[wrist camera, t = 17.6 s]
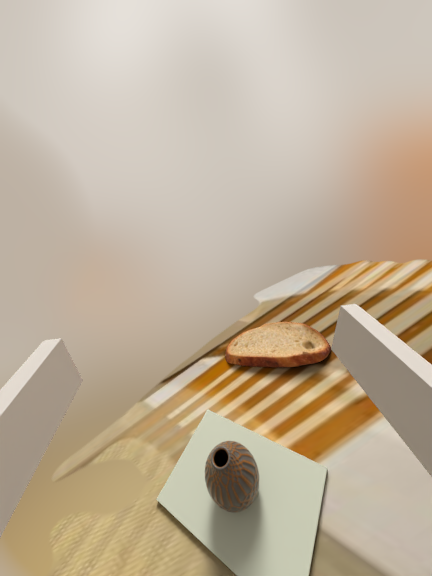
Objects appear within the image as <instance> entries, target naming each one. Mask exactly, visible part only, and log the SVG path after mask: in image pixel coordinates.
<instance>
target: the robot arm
mask: <svg viewBox="0 0 432 576" xmlns="http://www.w3.org/2000/svg"><path fill="white" fill-rule="evenodd" d="M331 349H332V350H333V352H334V353H335V354H336V356H337V357H338V358H339V359H340V361H341V362H342V363H343V364H344V366H345V367H346V368H347V370H348V371H349V372H350V373H351V375H352V376H353V377H354V378H355V380H356V381H357V382H358V384H359V385H360V386H361V387H362V389H363V390H364V391H365V392H366V394H367V395H368V396H369V398H370V399H371V400H372V401H373V403H374V404H375V405H376V406H377V408H378V409H379V410H380V412H381V413H382V414H383V415H384V417H385V418H386V419H387V420H388V422H389V423H390V424H391V426H392V427H393V428H394V429H395V431H396V432H397V433H398V434H399V436H400V437H401V438H402V439H403V441H404V442H405V443H406V445H407V446H408V447H409V448H410V450H411V451H412V452H413V453H414V455H415V456H416V457H417V459H418V460H419V461H420V462H421V464H422V465H423V466H424V467H425V469H426V470H427V471H428V473H429V474H430V475H431V476H432V365H431V364H430V363H429V362H427V361H426V360H425V359H424V358H423V357H421V356H420V355H419V354H418V353H416V352H415V351H414V350H413V349H411V348H410V347H409V346H408V345H406V344H405V343H404V342H403V341H401V340H400V339H399V338H398V337H396V336H395V335H394V334H393V333H391V332H390V331H389V330H388V329H387V328H385V327H384V326H383V325H382V324H380V323H379V322H378V321H377V320H375V319H374V318H373V317H372V316H370V315H369V314H368V313H367V312H365V311H364V310H363V309H362V308H360V307H359V306H358V305H357V304H352V305H344V306H341V308H340V312H339V317H338V321H337V326H336V330H335V335H334V339H333V344H332V348H331ZM81 383H82V378H81V376H80V374H79V372H78V370H77V368H76V366H75V364H74V362H73V360H72V358H71V357H70V354H69V353H68V351H67V349H66V347H65V345H64V343H63V341H62V339H53V340H44V341H43V342H42V343H41V344H40V346H39V347H38V348H37V349H36V350H35V351H34V353H33V354H32V355H31V356H30V357H29V358H28V359H27V360H26V362H25V363H24V364H23V365H22V366H21V367H20V368H19V369H18V371H17V372H16V373H15V374H14V375H13V376H12V378H11V379H10V380H9V381H8V382H7V383H6V384H5V385H4V387H3V388H2V389H1V390H0V537H1V535H2V533H3V531H4V529H5V527H6V525H7V523H8V522H9V520H10V518H11V516H12V514H13V512H14V510H15V508H16V506H17V504H18V503H19V501H20V498H21V497H22V495H23V493H24V491H25V489H26V487H27V486H28V484H29V482H30V480H31V478H32V476H33V474H34V472H35V470H36V468H37V466H38V465H39V463H40V461H41V459H42V457H43V455H44V453H45V451H46V449H47V447H48V446H49V444H50V442H51V440H52V438H53V436H54V434H55V432H56V430H57V428H58V426H59V425H60V423H61V421H62V419H63V417H64V415H65V413H66V411H67V409H68V407H69V405H70V403H71V402H72V400H73V398H74V396H75V394H76V392H77V390H78V388H79V387H80V385H81Z"/></svg>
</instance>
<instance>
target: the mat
mask: <svg viewBox="0 0 432 576" xmlns="http://www.w3.org/2000/svg"><path fill="white" fill-rule="evenodd" d="M224 441H235V442H238V443H240V444H242V445H243V446H245V447H246V448H247V449H248V450H249V451H250V452H251V454H252V455H253V457H254V459H255V461H256V464H257V467H258V471H259V489H258V493H257V496H256V498H255V500H254V501H253V503H252V504H251V505H250V506H249V507H248V508H247V509H245V510H243V511H241V512H235V513H233V512H228V511H225V510H223V509H222V508H220V507H219V506H218V505H217V504H216V503H215V502H214V501H213V499H212V498H211V496H210V494H209V492H208V490H207V487H206V482H205V465H206V461H207V458H208V456H209V454H210V452H211V451H212V449H213V448H214V447H215V446H216V445H218V444H219V443H221V442H224ZM326 474H327V468H326V467H324V466H322V465H320V464H318V463H316V462H314V461H312V460H310V459H308V458H306V457H304V456H302V455H300V454H298V453H296V452H294V451H292V450H290V449H288V448H286V447H283V446H281V445H279V444H277V443H275V442H273V441H271V440H269V439H267V438H265V437H263V436H261V435H259V434H257V433H255V432H253V431H251V430H249V429H247V428H245V427H243V426H241V425H239V424H236V423H234V422H232V421H230V420H228V419H226V418H224V417H222V416H220V415H218V414H216V413H214V412H212V411H210V410H207V411H206V413H205V415H204V417H203V418H202V420H201V422H200V424H199V426H198V427H197V429H196V431H195V433H194V434H193V436H192V438H191V440H190V441H189V443H188V445H187V447H186V448H185V450H184V452H183V454H182V455H181V457H180V459H179V461H178V462H177V464H176V466H175V468H174V470H173V471H172V473H171V475H170V477H169V478H168V480H167V482H166V484H165V485H164V487H163V489H162V491H161V492H160V494H159V496H158V498H157V499H156V500H157V501H158V502H160V503H161V504H162V505H163V506H164V507H165V508H166V509H167V510H168V511H169V512H170V513H171V514H172V515H173V516H174V517H175V518H176V519H178V520H179V521H180V522H181V523H182V524H183V525H184V526H185V527H186V528H187V529H188V530H189V531H190V532H191V533H192V534H193V535H194V536H196V537H197V538H198V539H199V540H200V541H201V542H202V543H203V544H204V545H205V546H206V547H207V548H208V549H209V550H210V551H211V552H212V553H213V554H215V555H216V556H217V557H218V558H219V559H220V560H221V561H222V562H223V563H224V564H225V565H226V566H227V567H228V568H229V569H230V570H231V571H233V572H234V573H235V574H236V575H237V576H309V573H310V567H311V562H312V556H313V550H314V544H315V538H316V532H317V527H318V521H319V515H320V509H321V503H322V498H323V492H324V486H325V480H326Z"/></svg>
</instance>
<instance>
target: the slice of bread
mask: <svg viewBox="0 0 432 576" xmlns="http://www.w3.org/2000/svg"><path fill="white" fill-rule="evenodd" d="M330 351H331V347H330V345H329V343H328V342H327V340H326V339H325V338H324V337H323V335H321V334H320V333H319V332H318V331H317V330H315V329H313V328H311V327H310V326H308V325H305V324H302V323H292V322H277V323H270V324H265V325H263V326H261V327H259V328H255V329H252V330H249V331H246V332H244V333H242V334H241V335H239V336H238V337H236V338H234V339H233V340H232V341H231V343H230V344H229V345H228V347H227V350H226V353H225V358H226V361H227V362H228V363H230V364H236V365H241V366H250V367H255V366H257V367H297V366H300V365H306V364H313V363H317V362H320V361H322V360H324V359H325V358H326V357H327V356H328V355H329V353H330Z"/></svg>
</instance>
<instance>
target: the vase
mask: <svg viewBox="0 0 432 576" xmlns="http://www.w3.org/2000/svg"><path fill="white" fill-rule="evenodd" d="M205 482H206V487H207V490H208V492H209V494H210V496H211V498H212V499H213V501H214V502H215V503H216V504H217V505H218V506H219V507H220V508H222V509H223V510H225V511H228V512H233V513H235V512H241V511H243V510H245V509H247V508H248V507H249V506H250V505H251V504H252V503H253V501H254V500H255V498H256V496H257V493H258V489H259V471H258V467H257V464H256V461H255V459H254V457H253V455H252V454H251V452H250V451H249V450H248V449H247V448H246V447H245V446H243V445H242V444H240V443H238V442H235V441H224V442H221V443H219V444H218V445H216V446H215V447H214V448H213V449H212V451H211V452H210V454H209V456H208V458H207V461H206V465H205Z"/></svg>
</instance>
